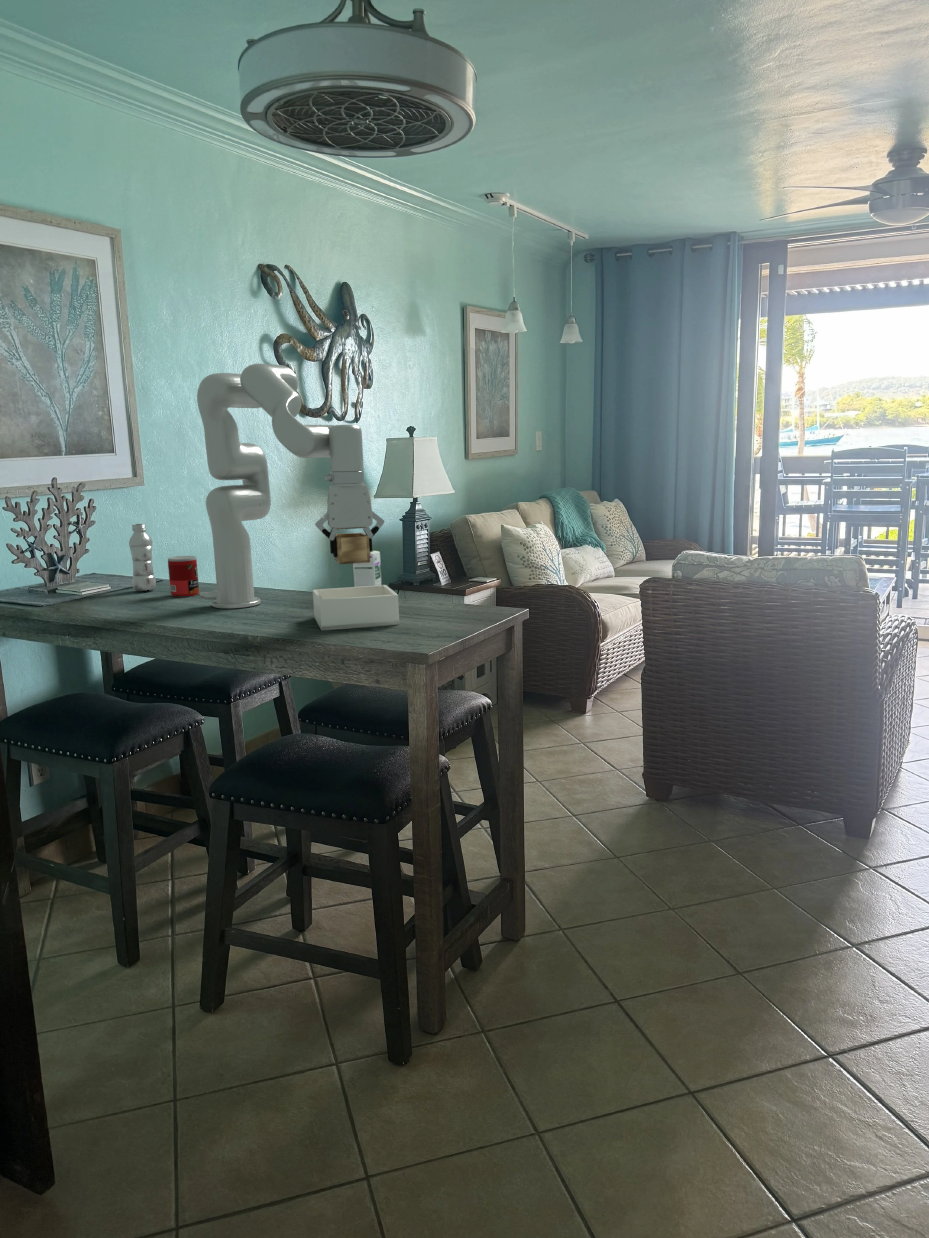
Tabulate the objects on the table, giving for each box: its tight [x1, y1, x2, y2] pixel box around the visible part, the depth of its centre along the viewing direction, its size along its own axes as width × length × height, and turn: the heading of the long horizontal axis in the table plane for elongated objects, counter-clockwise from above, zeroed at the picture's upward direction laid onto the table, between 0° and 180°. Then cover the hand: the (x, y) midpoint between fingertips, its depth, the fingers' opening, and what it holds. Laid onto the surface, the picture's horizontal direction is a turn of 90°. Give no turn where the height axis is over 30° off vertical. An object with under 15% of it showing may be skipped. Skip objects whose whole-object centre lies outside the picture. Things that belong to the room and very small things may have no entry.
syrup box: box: [352, 550, 383, 587], centre depth 227 cm, size 6×6×14 cm
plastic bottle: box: [128, 523, 157, 592], centre depth 263 cm, size 6×7×20 cm
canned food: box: [167, 555, 200, 597], centre depth 255 cm, size 8×8×11 cm
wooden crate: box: [333, 532, 370, 565], centre depth 207 cm, size 7×10×6 cm
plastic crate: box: [312, 584, 400, 631], centre depth 210 cm, size 18×16×7 cm
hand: (351, 555), depth 208 cm, fingers closed on wooden crate, 7 cm apart
